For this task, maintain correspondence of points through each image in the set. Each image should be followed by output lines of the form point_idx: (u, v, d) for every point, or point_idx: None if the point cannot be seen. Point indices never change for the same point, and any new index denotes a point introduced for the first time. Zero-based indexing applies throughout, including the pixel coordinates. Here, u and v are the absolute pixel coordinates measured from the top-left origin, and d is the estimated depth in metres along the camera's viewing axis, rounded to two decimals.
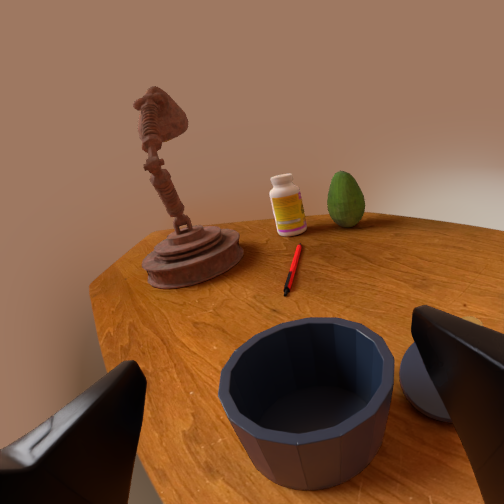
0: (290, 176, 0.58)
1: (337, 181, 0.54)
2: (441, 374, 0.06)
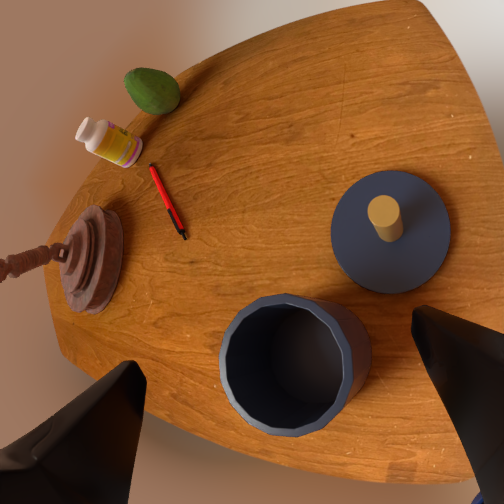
0: (89, 121, 0.40)
1: (131, 86, 0.38)
2: (441, 374, 0.06)
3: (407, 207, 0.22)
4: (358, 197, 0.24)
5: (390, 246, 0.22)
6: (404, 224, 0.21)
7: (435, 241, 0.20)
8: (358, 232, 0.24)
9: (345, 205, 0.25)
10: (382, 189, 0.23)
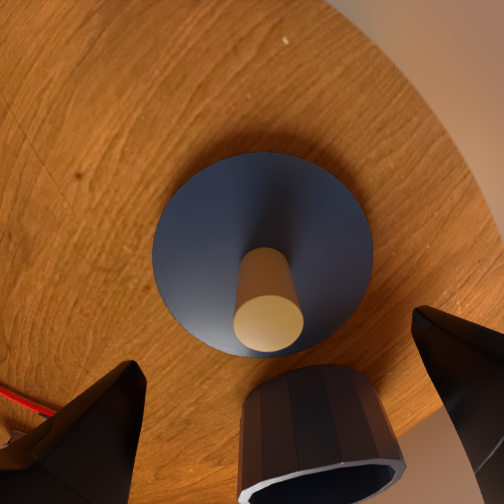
0: None
1: None
2: (441, 374, 0.06)
3: (261, 220, 0.13)
4: (177, 269, 0.14)
5: None
6: (279, 248, 0.13)
7: (344, 230, 0.13)
8: (228, 311, 0.14)
9: (174, 294, 0.14)
10: (198, 227, 0.13)
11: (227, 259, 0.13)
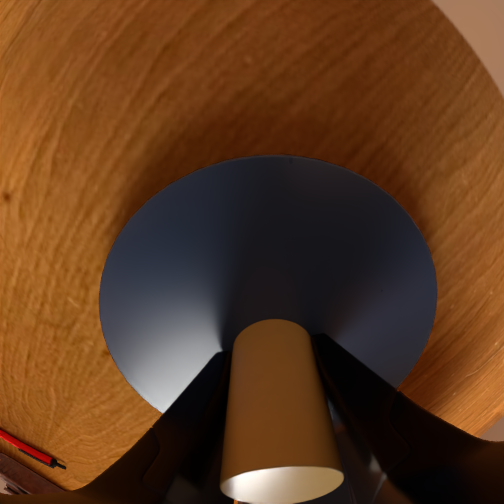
0: None
1: None
2: None
3: (270, 277, 0.07)
4: (138, 343, 0.08)
5: None
6: (299, 319, 0.08)
7: (402, 288, 0.07)
8: None
9: (139, 373, 0.09)
10: (164, 287, 0.07)
11: (213, 335, 0.08)
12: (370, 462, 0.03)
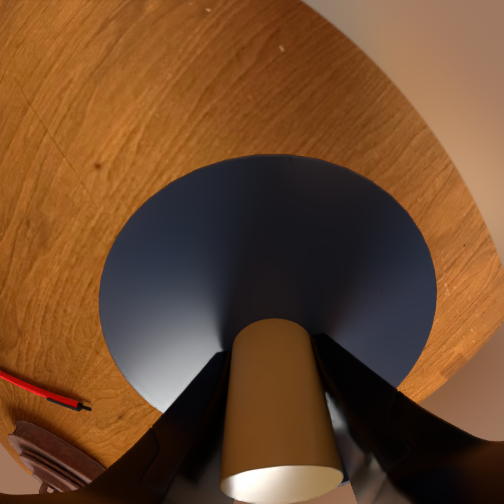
0: None
1: None
2: None
3: (269, 276, 0.07)
4: (138, 343, 0.08)
5: None
6: (299, 318, 0.08)
7: (401, 287, 0.07)
8: None
9: (138, 372, 0.09)
10: (163, 286, 0.07)
11: (213, 334, 0.08)
12: (370, 462, 0.03)
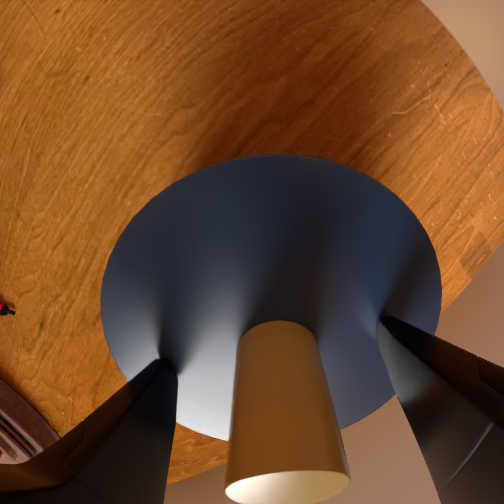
0: None
1: None
2: (404, 389, 0.06)
3: (275, 278, 0.07)
4: (140, 345, 0.08)
5: None
6: (304, 320, 0.08)
7: (407, 289, 0.07)
8: (222, 399, 0.09)
9: None
10: (167, 288, 0.07)
11: (217, 336, 0.08)
12: (471, 419, 0.03)
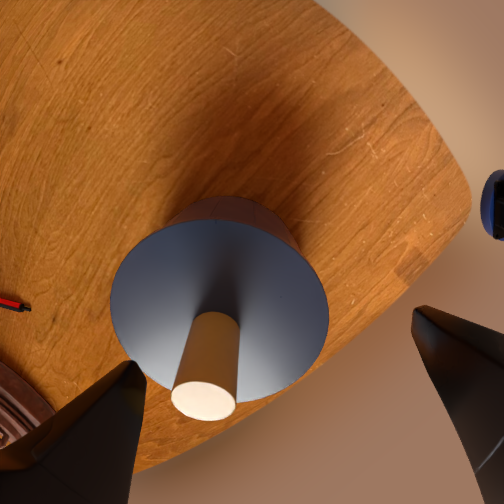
0: None
1: None
2: (441, 374, 0.06)
3: (208, 286, 0.12)
4: (133, 326, 0.13)
5: (239, 349, 0.14)
6: (228, 312, 0.13)
7: (296, 295, 0.13)
8: None
9: (134, 346, 0.14)
10: (149, 291, 0.13)
11: (179, 320, 0.13)
12: None
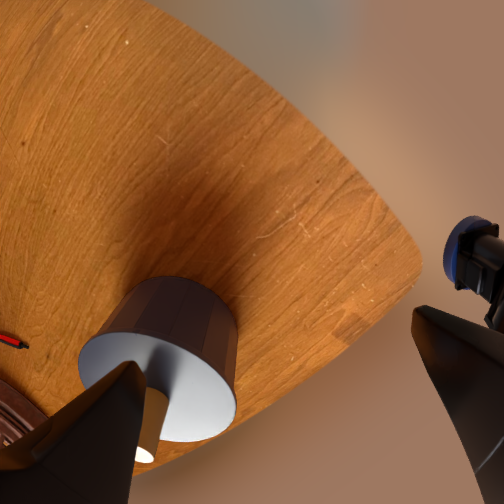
0: None
1: None
2: (441, 374, 0.06)
3: None
4: None
5: (171, 410, 0.16)
6: (158, 388, 0.15)
7: (204, 383, 0.15)
8: None
9: None
10: (102, 369, 0.15)
11: None
12: None
